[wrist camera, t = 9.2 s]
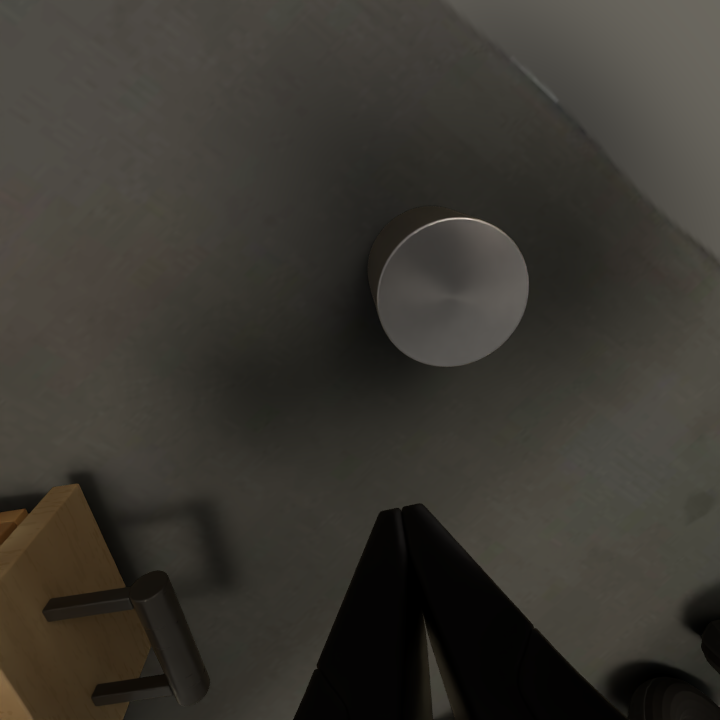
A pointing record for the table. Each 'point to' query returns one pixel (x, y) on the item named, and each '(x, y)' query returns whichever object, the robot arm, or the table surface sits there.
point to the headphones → (679, 690)
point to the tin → (446, 285)
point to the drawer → (83, 621)
